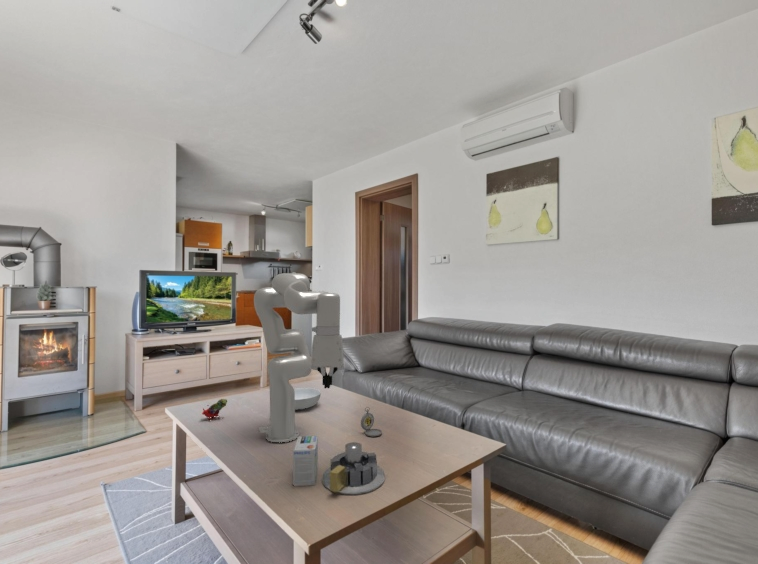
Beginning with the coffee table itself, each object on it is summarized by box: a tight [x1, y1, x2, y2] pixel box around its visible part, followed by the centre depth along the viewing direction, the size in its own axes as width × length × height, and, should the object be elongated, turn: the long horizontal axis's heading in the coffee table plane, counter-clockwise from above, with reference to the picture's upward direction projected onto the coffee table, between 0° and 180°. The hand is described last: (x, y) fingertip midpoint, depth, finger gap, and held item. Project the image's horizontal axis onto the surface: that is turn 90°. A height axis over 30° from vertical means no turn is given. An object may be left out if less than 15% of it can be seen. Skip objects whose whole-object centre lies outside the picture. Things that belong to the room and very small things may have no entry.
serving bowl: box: [293, 387, 322, 411], centre depth 189 cm, size 21×21×7 cm
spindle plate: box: [321, 441, 386, 496], centre depth 118 cm, size 19×19×10 cm
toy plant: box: [202, 398, 228, 419], centre depth 171 cm, size 8×10×12 cm
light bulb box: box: [292, 435, 319, 487], centre depth 119 cm, size 11×7×11 cm, turn 5°
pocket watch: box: [360, 406, 383, 437], centre depth 154 cm, size 8×8×10 cm
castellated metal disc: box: [330, 451, 378, 493], centre depth 116 cm, size 17×14×5 cm
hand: (327, 387), depth 125 cm, fingers closed
